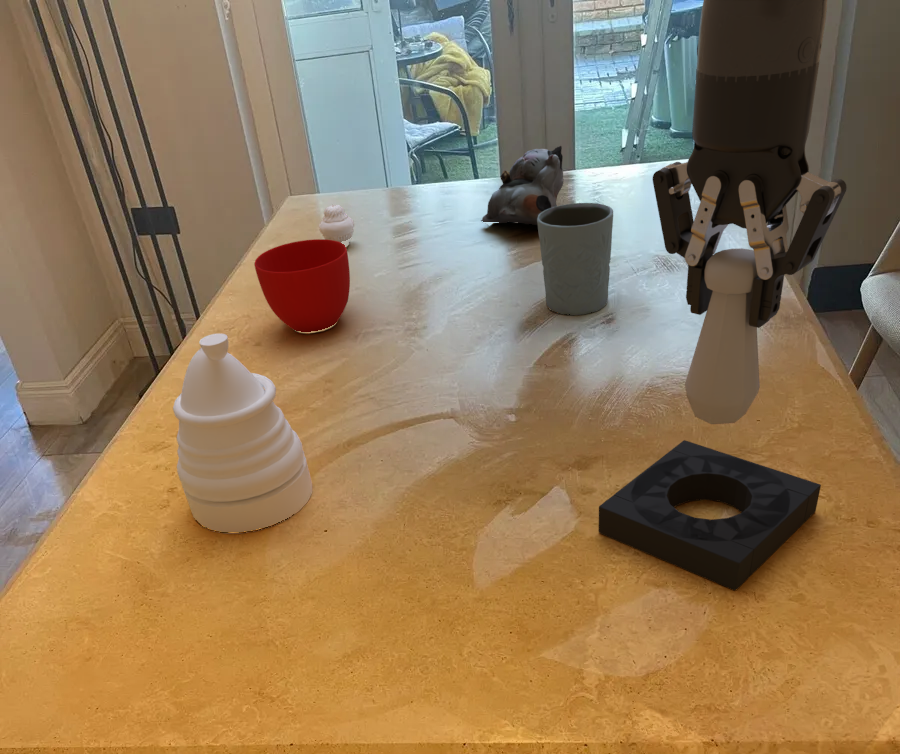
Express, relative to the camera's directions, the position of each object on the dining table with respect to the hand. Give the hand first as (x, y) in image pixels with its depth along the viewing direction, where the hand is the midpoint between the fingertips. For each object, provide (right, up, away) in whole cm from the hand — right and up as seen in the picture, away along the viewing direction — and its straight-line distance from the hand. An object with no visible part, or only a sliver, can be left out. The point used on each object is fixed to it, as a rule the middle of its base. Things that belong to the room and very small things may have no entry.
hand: (729, 315), depth 65 cm
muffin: (-41, +40, +84) cm, 102 cm away
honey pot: (-42, -11, +24) cm, 50 cm away
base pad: (+2, -15, +13) cm, 19 cm away
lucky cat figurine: (-9, +43, +83) cm, 94 cm away
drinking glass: (-4, +20, +54) cm, 58 cm away
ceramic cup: (-40, +19, +60) cm, 75 cm away
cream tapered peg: (+1, -6, +5) cm, 8 cm away
